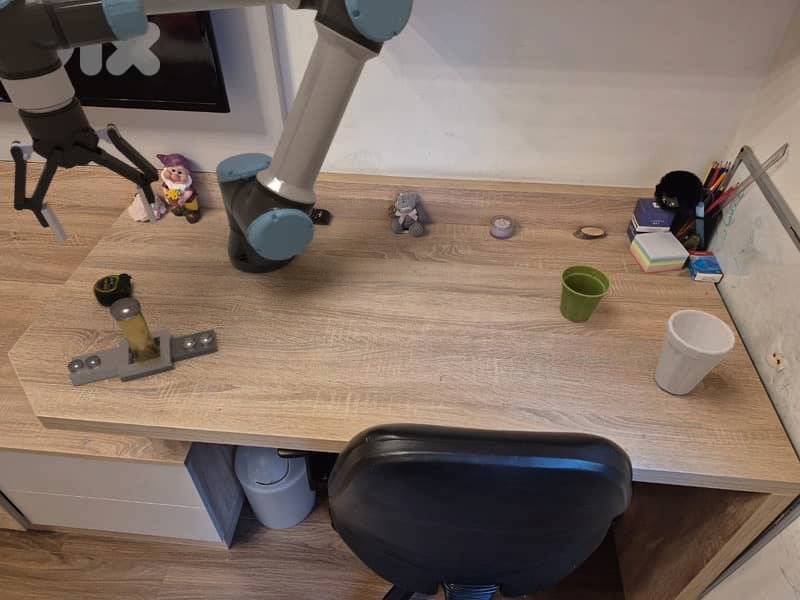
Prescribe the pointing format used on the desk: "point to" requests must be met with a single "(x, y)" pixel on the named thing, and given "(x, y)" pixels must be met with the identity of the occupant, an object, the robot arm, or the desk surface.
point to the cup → (691, 349)
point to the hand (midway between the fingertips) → (109, 230)
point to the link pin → (135, 328)
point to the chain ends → (122, 361)
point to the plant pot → (582, 291)
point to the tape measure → (112, 288)
